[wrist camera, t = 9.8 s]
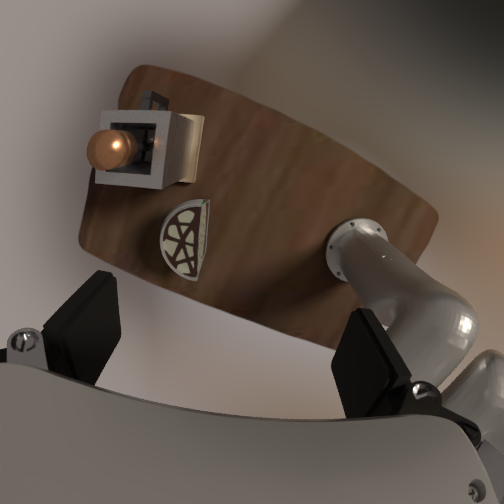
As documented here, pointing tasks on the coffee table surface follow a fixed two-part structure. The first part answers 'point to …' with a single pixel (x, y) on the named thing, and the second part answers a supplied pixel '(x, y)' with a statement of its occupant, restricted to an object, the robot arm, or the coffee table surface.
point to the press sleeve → (165, 144)
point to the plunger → (117, 148)
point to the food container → (186, 237)
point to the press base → (192, 147)
